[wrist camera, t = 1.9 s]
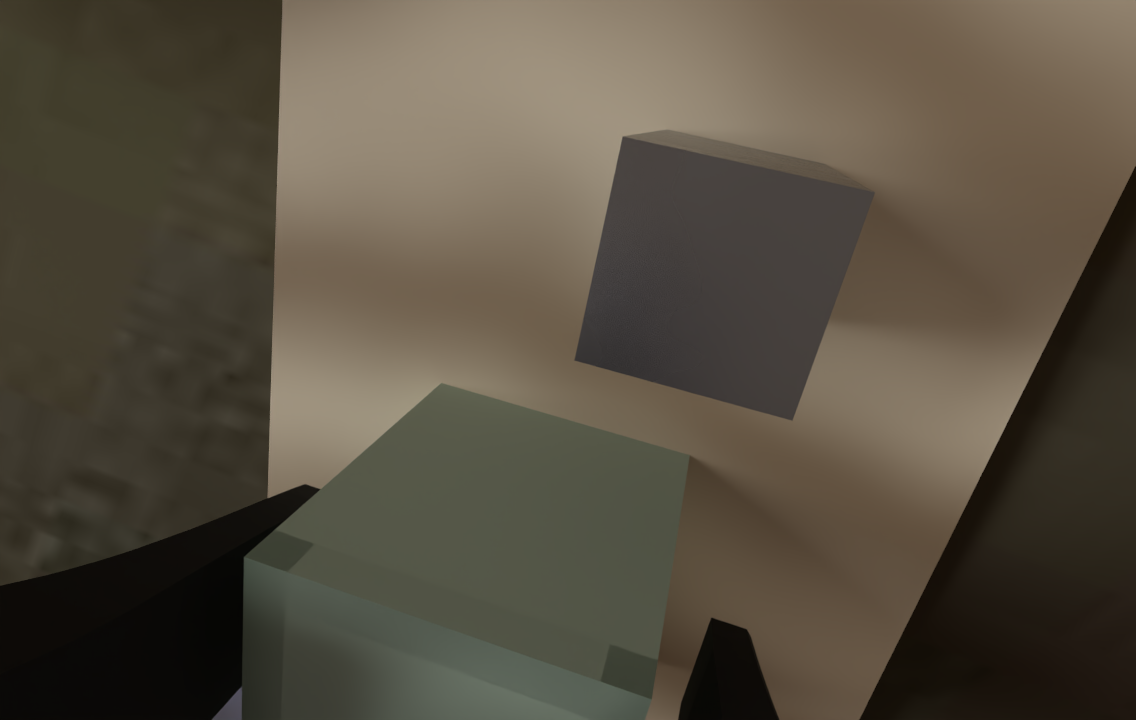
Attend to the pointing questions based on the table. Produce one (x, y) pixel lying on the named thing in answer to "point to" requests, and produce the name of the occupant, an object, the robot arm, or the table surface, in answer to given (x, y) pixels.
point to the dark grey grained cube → (719, 268)
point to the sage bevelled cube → (468, 574)
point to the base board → (572, 236)
